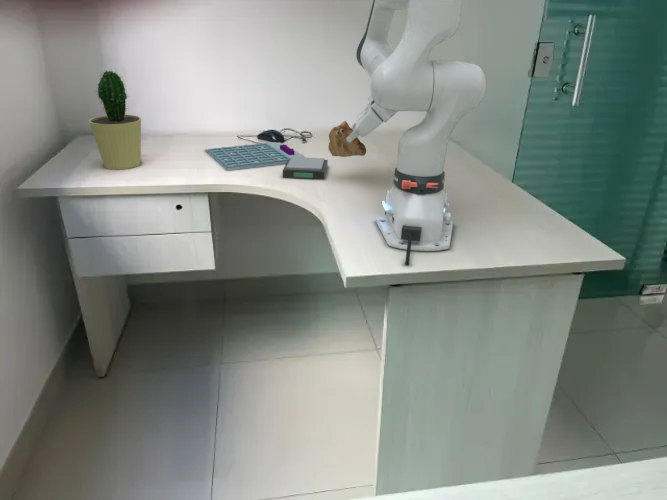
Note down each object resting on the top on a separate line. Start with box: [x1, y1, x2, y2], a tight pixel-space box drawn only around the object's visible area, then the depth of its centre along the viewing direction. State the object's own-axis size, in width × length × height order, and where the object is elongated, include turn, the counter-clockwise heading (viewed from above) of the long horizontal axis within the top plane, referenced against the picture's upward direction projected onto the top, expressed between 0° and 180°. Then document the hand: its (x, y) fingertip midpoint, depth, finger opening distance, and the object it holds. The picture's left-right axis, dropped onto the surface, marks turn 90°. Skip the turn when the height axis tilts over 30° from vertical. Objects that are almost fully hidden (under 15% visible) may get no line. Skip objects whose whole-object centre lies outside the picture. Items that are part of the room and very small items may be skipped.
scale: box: [282, 156, 329, 180], centre depth 169 cm, size 14×13×3 cm
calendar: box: [205, 141, 305, 171], centre depth 185 cm, size 27×29×2 cm
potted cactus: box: [88, 68, 142, 170], centre depth 166 cm, size 15×15×30 cm
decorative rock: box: [328, 120, 367, 158], centre depth 160 cm, size 12×6×11 cm, turn 117°
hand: (348, 137), depth 160 cm, fingers closed on decorative rock, 7 cm apart
